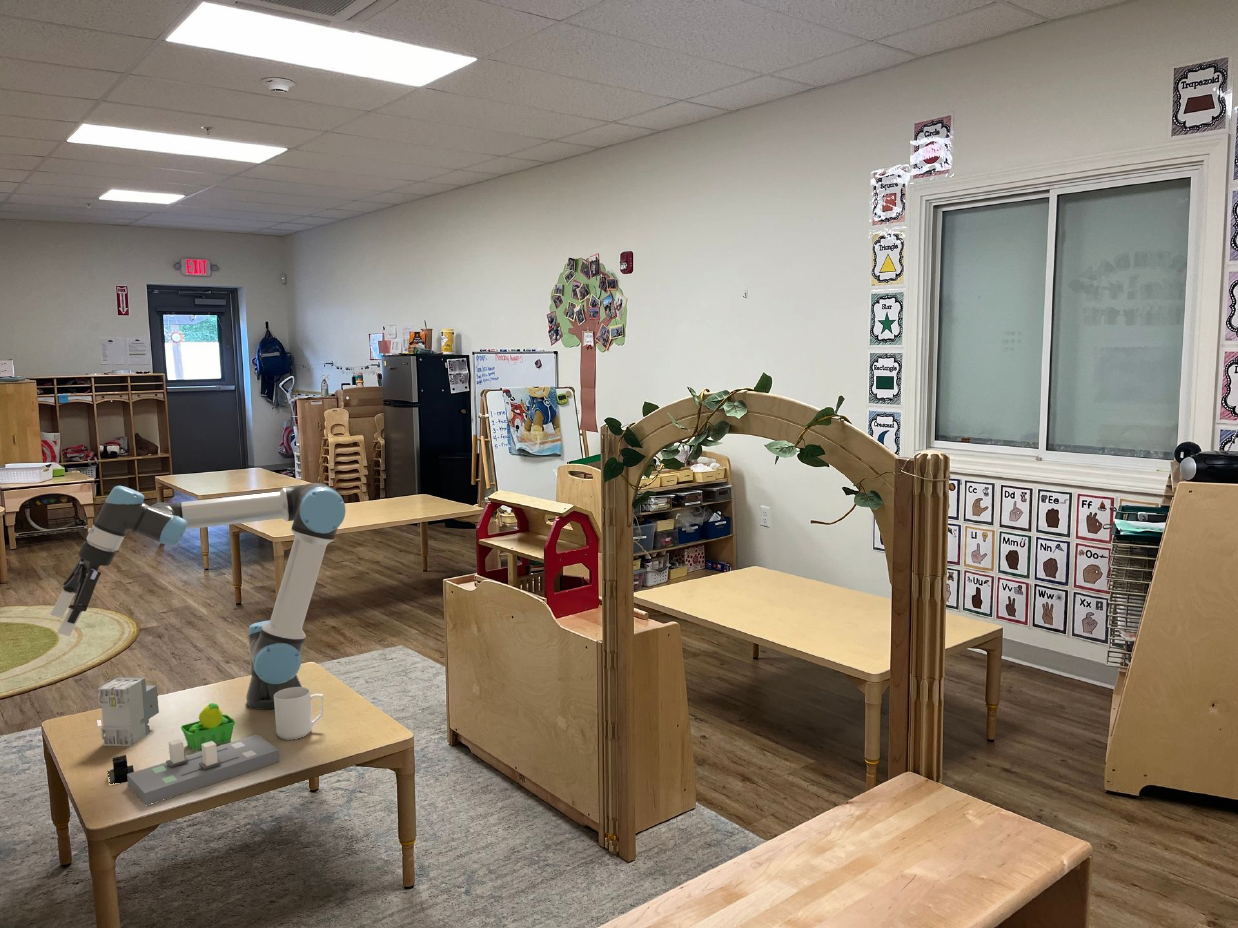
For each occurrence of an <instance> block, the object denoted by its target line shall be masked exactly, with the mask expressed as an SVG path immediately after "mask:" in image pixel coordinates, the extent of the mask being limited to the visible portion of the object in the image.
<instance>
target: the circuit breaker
mask: <svg viewBox="0 0 1238 928" xmlns="http://www.w3.org/2000/svg"><path fill="white" fill-rule="evenodd" d="M97 691H98V692H99V693H98V694H97V699H98V705H99V706H101V717H102V727H101V728H100V733H101V740H103V743H102V746H105V747H106V746H107V747H108V746H111V747H113V746H114V747H132V745H134V744H135V743H137V742H138V741H140V740H142V739H143V738H144V737H146V736H148V735H149V734H150V733H151V730H150V729H151V728H150V725H148V724H150V719H151V718H153V717H154V716H156V715H157V714H160V710H159V699H158V697H159V692H158V686H157V685H147V682H146V678H145V677H117V678H114V679H112V680H111V681H109V682H107V683H105V684H103V685H102V686H100V687H98V688H97Z"/></svg>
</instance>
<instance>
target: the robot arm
mask: <svg viewBox="0 0 1238 928" xmlns="http://www.w3.org/2000/svg"><path fill="white" fill-rule="evenodd" d="M144 500H145V495H144V494H142V493H141V492H140V491H137V490H135V489H132V488H129V487H127V486H125V485H124V486H122V485H116V486H114V487H113V488H111V491H110V493H109V495H108V496H107V498H106V499H105V501H104V503H103V505H102V507H101V509H100V511H99V513H98V514H97V517H96V519H95V521H94V523H93V525H92V526H91V527H90V528H88V529H87V532H88V534H87V536H86V537H85V538H86V541H84V542H83V543H82V545H81V547H80V549H79V551H78V553H77V555H78V557H79V561H78V562H77V563H76V565H75V566H74V568H73V569H72V571H71V572H70V574H69V575H68V576H67V578H66V579H65V581H63V590H62V591H61V593H60V595H59V597H58V598H57V601H56V603H54V606H53V608H52V609H51V612H50V614H49V615H50V616H51V617H52V616H53V617H56V618H60V619H62V618H63V620H62V622H61V624H60V626H59V628H58V629H57V632H56V633H57V634H58V635H64V636H67V637H70V636H71V634H72V632H73V631H74V629H75V627H76V625H77V623H78V621H79V619H80V616H81V615H82V613H83V612H86V611H87V610H88V606H89V604H90V602H91V599H92V596H93V594H94V591H95V588H96V586H97V582H98V580H99V578H100V577H101V575H102V573H101V571H99V568H100V566H103V567H108V566H110V565H111V563H112V562H113V560H114V557H115V556H116V551H118V550H119V548H120V547H121V545H122V542H123V541H124V539H125V537H126V534H127V533H128V531H130V532H132V533H135V534H138V535H140V536H142V537H145V538H148V539H150V540H152V541H156V542H158V543H160V544H162V545H166V546H167V545H168V546H171V547H176V546H178V545H179V543H180V541H181V540H182V538H183V536H184V534H185V532H186V530H192V529H193V530H194V529H201V528H202V529H203V528H210V527H219V526H227V525H228V526H229V525H236V524H245V523H246V524H247V523H254V522H260V521H261V522H262V521H271V520H279V519H283V520H284V521H285V522H292V521H293V522H292V525H291V529H290V530H291V533H292V534H293V536H294V539H293V543H292V546H291V550H290V553H289V555H288V560H287V562H286V564H285V569H284V572H283V575H282V579H281V582H280V586H279V589H278V592H277V596H276V599H275V603H274V607H273V610H272V613H271V616H270V620H263V621H258V622H255V623H252V624H250V625H249V627H248V634H247V637H248V645H249V660H250V670H251V671H250V674H251V675H250V676H251V677H250V681H249V683H248V684H249V685H248V687H247V688H248V689H247V693H246V696H245V698H246V705H247V706H248V707H249V708H252V709H256V710H275V707H274V694H275V693H276V692H278V691H280V690H283V689H286V688H291V687H303V686H302V684H301V681H300V679H299V677H298V673H299V671H300V668H301V665H302V655H301V653H302V651H303V646H304V643H305V640H306V637H307V635H306V633H305V632H304V630H303V626H304V623H305V620H306V617H307V613H308V609H309V608H310V607H309V605H310V603H311V599H312V597H313V593H314V589H315V586H316V583H317V579H318V576H319V572H320V570H321V565H322V562H323V559H324V556H325V553H326V550H327V546H328V545H329V544H330V543H332V542H334V541H335V537H336V535H337V532H338V529H339V527H340V526H341V525H342V523H343V522H344V519H345V516H346V504H345V502H344V499H343V497H342V496H341V494H340V493H339V492H337V491H336V490H335V489H333V488H332V487H331V486H329V485H327V484H324V483H322V482H311V483H306V484H301V485H293V486H287V487H282V488H281V489H280V490H279V491H273V492H265V493H255V494H245V495H237V496H228V497H227V496H225V497H218V498H217V497H216V498H207V499H200V500H199V499H198V500H190V501H189V500H188V501H182V502H171V503H167V502H157V503H155V504H152V505H148V504H146V503H144V502H145V501H144ZM73 598H74V599H73ZM72 600H73V603H72V604H71V602H72ZM66 611H67V613H66ZM65 613H66V615H65ZM64 615H65V616H64Z"/></svg>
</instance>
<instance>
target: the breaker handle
mask: <svg viewBox="0 0 1238 928" xmlns="http://www.w3.org/2000/svg"><path fill="white" fill-rule="evenodd" d="M168 752H169V753H168V754H169V760H166V761H165V762H166V763H167V764H168V765H169V766H170V767H173V766H176V765H180V764H183V763H186V762H189V759H187V758H186V757H185V749H184V741H182V739H180V738H177V739H174V740H171V741H168Z"/></svg>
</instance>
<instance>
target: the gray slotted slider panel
mask: <svg viewBox="0 0 1238 928" xmlns="http://www.w3.org/2000/svg"><path fill="white" fill-rule="evenodd" d="M216 748H217V758H218V759H219V760H220V761H221V762H222V764H220V765H217V766H214V767H211V768H208V769H203V768H202V767H200V766H199V763H201V762H203V758H202V750H201V751H198V752H194V753H193V754H188V755H186V756H185V755H184V756H185V757H186V758H187V759H189V762H186V763H183V764H180V765H176V766H173V767H170V766H169V765H168V764H167V763H166V761H165V762H163V763H159V764H156V765H153V766H149V767H146V768H143V769H140V770H136V771H134V772H132V773H129V774H127V779H128V782H127V787H128V788H129V789H130V790H131V791H132V792H133V793H134V795H135V794H136V795H135V796H136V797H137V796H138V797H139V798H138V797H137V798H138V800H140V799H141V800H140V801H141V802H142V801H143V802H142V804H145V805H148V806H150V805H149V804H151V803H154V804H156V803H155V802H157V801H160V802H162V801H161V800H163V799H166V800H168V798H169V799H171V798H170V797H172V798H174V796H175V797H177V795H178V796H181V795H184V794H186V793H190V792H193V791H195V790H198V788H199V789H201V788H204V787H208V786H210V785H214V784H217V783H219V782H220V783H221V782H223V781H226V780H229V779H231V778H234V777H237V776H240V775H244V774H246V773H250V772H253V771H256V770H259V769H262V768H265V767H269V766H271V765H273V764H276V763H280V762H281V757H280V749H279V748H277V747H276V746H274V745H273V744H272V743H270V742H269V741H268V740H266V739H264V737H262V736H261V735H260V734H254V735H250V736H247V737H243V738H241V739H237V740H235V741H230V742H226V743H225V744H221V745H219V746H216ZM279 761H280V762H279ZM192 790H193V791H192ZM180 794H181V795H180ZM163 801H164V800H163ZM157 803H158V802H157ZM145 805H144V806H145ZM151 805H152V804H151Z"/></svg>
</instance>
